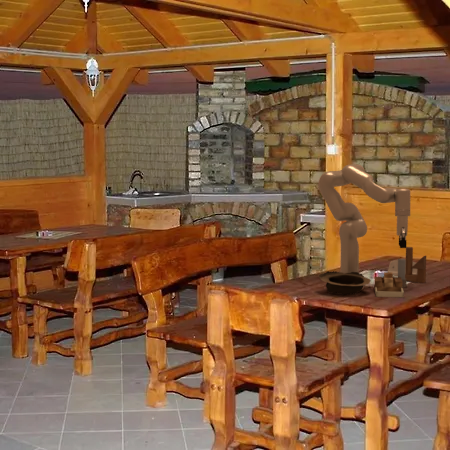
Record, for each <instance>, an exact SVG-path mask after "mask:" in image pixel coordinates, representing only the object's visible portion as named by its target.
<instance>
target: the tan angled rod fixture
mask: <svg viewBox="0 0 450 450" xmlns="http://www.w3.org/2000/svg"><path fill="white" fill-rule="evenodd" d="M413 255H414V248H413V247H412V246H406V248H405V260H406V271H405V279H406V282H408V283H409V282H410V283H419V284H420V283H421V284H424V283H426V282H427V281H426V280H427V279H426V278H427V255H423V256H422V257H421V258H420V259H419V260H418V261H417V262H415V263H416V264H415V265H414V266H413V262H414V260H413V257H414V256H413ZM412 268H413V269H417V275H416V274H412Z"/></svg>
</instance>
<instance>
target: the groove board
mask: <svg viewBox="0 0 450 450" xmlns="http://www.w3.org/2000/svg"><path fill="white" fill-rule="evenodd" d="M375 287H377V291H387V292H401V288H403V287H402V279H401V277H398V276H393V287H384V276H374V289H375Z"/></svg>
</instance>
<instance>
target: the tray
mask: <svg viewBox="0 0 450 450" xmlns="http://www.w3.org/2000/svg"><path fill="white" fill-rule="evenodd" d="M374 294H375V298H376V297H378V298H404V297H405V292H404V287H402V288H401V292H387V291H377V287H375V288H374Z"/></svg>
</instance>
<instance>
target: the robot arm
mask: <svg viewBox="0 0 450 450" xmlns="http://www.w3.org/2000/svg"><path fill="white" fill-rule="evenodd" d="M373 177H374V176H372V175H371V174H369V173H368V172H366V170H365V168H364V166H362V165H361V164H347V165H344V166H343V168H342V169H339V170H329V171H326V172H324V173H322V174H321V175H320V177H319V179H318V190H319V192H320V194H321V196H322V198H323V200H324V201H325V203H326V205H327V207H328V209H329V211H330V213H331V214H332V217H333V218H334V220H336V221H338V222H342V224H340V226H339V230H338V231H339V232H338V235H339V240H340V271H339V272H340V273H351V272H358V273H360V272H359V271H360V270H359V269H360V263H359V262H360V258H359V257H360V246H359V245H360V244H359V241H358V239H359V238H363V237H364V236H365V235H367V232H368V226H367V223H366V220H365V219H364V217H363V216H362V213H361V212H360V210H359V209H358V207H357V206H356V204H354V203H352V202H345V201H344V199H343V198H342V196H341V194H340V192H338V190H336V188H335V187H343V186H347V185H350V184H352V185H354V186H355V187H358V189H360V190H362V191H363V192H364V193H365V195H367V196H368V197H369V198H371V199H372V200H374V201H376V202H378V203H380V204H388V203H394V216H395V217H396V235H397V237H398V246H399V248H400V249H406V247H407V236H408V230H409V225H408V224H409V223H408V222H409V217H411V189H409V188H397V187H382V186H379V185H378V184H377V183H375V182H373V181H374V178H373Z"/></svg>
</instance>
